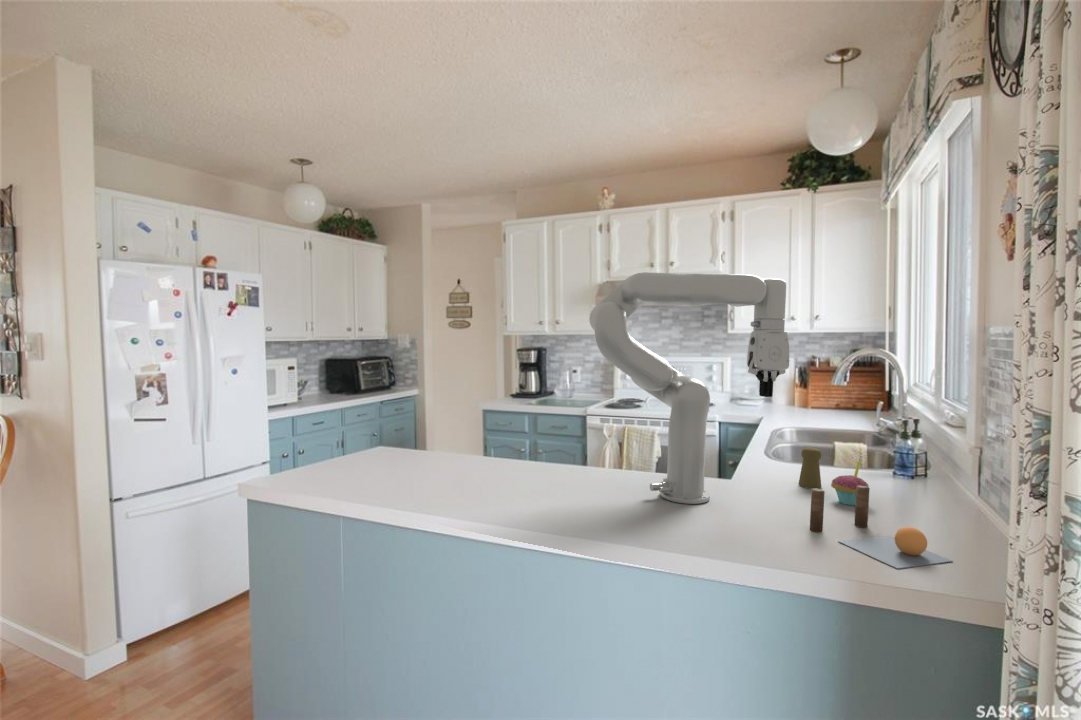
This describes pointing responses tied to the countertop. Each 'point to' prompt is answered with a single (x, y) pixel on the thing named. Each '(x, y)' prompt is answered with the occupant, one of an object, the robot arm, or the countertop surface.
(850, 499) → the cupcake
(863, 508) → the post
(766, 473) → the countertop surface
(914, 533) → the ball
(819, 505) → the post
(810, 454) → the cork
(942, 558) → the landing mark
